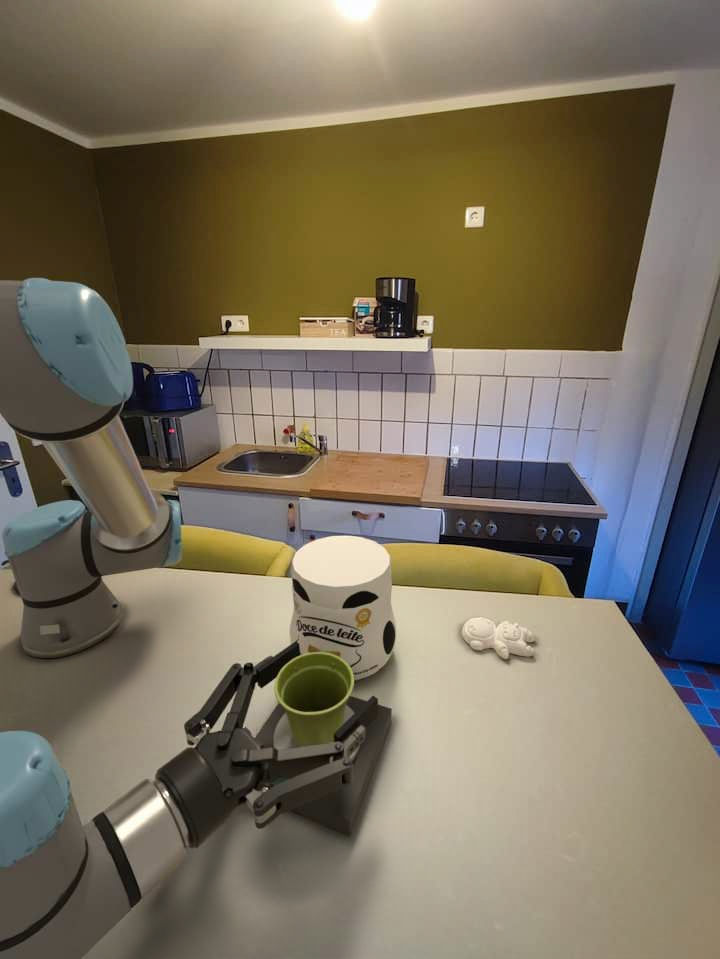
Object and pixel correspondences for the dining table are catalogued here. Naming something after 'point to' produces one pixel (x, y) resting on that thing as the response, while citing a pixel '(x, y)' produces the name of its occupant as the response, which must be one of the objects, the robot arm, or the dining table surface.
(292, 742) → the scale
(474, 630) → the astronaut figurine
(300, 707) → the plant pot
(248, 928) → the dining table surface
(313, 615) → the milk container
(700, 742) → the dining table surface
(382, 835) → the dining table surface
